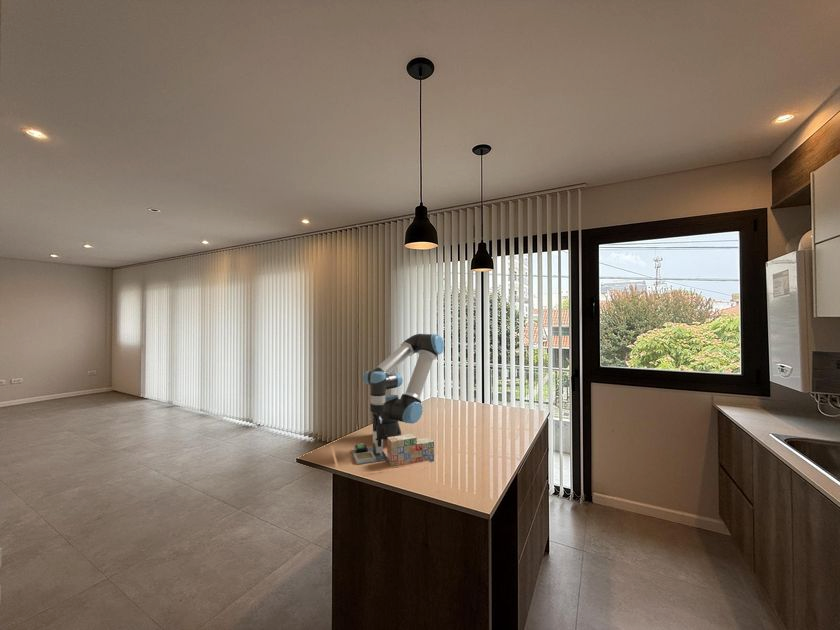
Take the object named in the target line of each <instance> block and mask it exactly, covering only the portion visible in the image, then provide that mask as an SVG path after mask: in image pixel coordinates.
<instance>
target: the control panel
mask: <svg viewBox="0 0 840 630" xmlns="http://www.w3.org/2000/svg"><path fill="white" fill-rule="evenodd" d="M364 444H365V448H360V449H357V445H358V444H356V445H354V449H351V450H350V452H351V453H352V457H353V459H354V462H355V464H356V466H361V465H366V464H369V465H370V464H374V463H382V462H383V463H384V462H388V461H387V454H386V453H385V451H383V452H382V453H380V454H374V453H373V446H372V447H368V446H367V444H366V443H364Z"/></svg>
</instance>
